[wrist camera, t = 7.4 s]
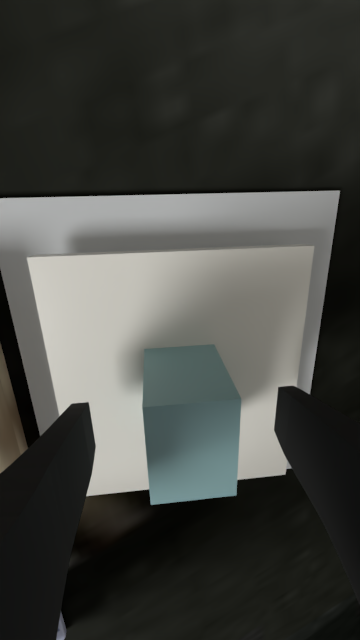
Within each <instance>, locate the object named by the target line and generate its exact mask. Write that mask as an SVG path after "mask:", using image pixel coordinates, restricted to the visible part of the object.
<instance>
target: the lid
mask: <svg viewBox="0 0 360 640" xmlns="http://www.w3.org/2000/svg"><path fill="white" fill-rule="evenodd" d="M313 253H314V246H313V245H308V244H290V245H265V246H240V247H215V248H190V249H164V250H139V251H114V252H89V253H64V254H39V255H33V256H30V257H27V261H28V266H29V270H30V275H31V280H32V285H33V290H34V295H35V300H36V304H37V309H38V314H39V319H40V324H41V329H42V334H43V338H44V343H45V348H46V353H47V358H48V363H49V368H50V373H51V377H52V382H53V387H54V392H55V397H56V402H57V407H58V411H59V416H60V415H61V414H62V413H63V412H64V411H65V410H66V409H67V408H68V407H69V406H70V405H71V404H72V403H85V402H89V407H90V413H91V419H92V426H93V432H94V438H95V445H96V449H95V456H94V463H93V470H92V475H91V479H90V483H89V487H88V491H87V495H86V496H92V495H101V494H111V493H120V492H129V491H138V490H147V489H149V491H150V502H151V505H155V504H164V503H173V502H182V501H191V500H200V499H208V498H217V497H226V496H235V495H236V494H237V480H240V479H249V478H258V477H268V476H277V475H285V474H286V466H287V459H286V457H285V455H284V453H283V451H282V448H281V446H280V444H279V441H278V439H277V436H276V434H275V431H274V424H275V414H276V405H277V395H278V387H283V386H295V387H297V380H298V372H299V364H300V356H301V348H302V340H303V332H304V324H305V316H306V309H307V301H308V293H309V285H310V277H311V269H312V261H313Z"/></svg>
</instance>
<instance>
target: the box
mask: <svg viewBox="0 0 360 640" xmlns="http://www.w3.org/2000/svg"><path fill="white" fill-rule="evenodd" d="M27 449H28V446H27V443H26V439H25V435H24V431H23V427H22V423H21V420H20V416H19V412H18V408H17V404H16V400H15V397H14V393H13V389H12V385H11V381H10V377H9V374H8V370H7V366H6V362H5V358H4V354H3V351H2V347H1V343H0V473H1V472H3V471H4V470H5V469H6V468H7V467H8V466H10V465H11V464H12V463H13V462H14V461H15V460H16V459H17V458H18V457H19V456H20V455H21V454H23V453H24V452H25V451H26V450H27Z"/></svg>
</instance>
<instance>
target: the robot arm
mask: <svg viewBox="0 0 360 640" xmlns="http://www.w3.org/2000/svg"><path fill="white" fill-rule="evenodd" d="M274 431H275V434H276V436H277V439H278V441H279V444H280V446H281V448H282V451H283V453H284V455H285V457H286V459H287V461H288V462H289V464H290V466H291V468H292V469H293V471H294V473H295V475H296V476H297V478H298V480H299V482H300V483H301V485H302V487H303V488H304V490H305V492H306V494H307V495H308V497H309V499H310V501H311V502H312V504H313V506H314V507H315V509H316V511H317V513H318V515H319V517H320V518H321V520H322V522H323V524H324V526H325V528H326V530H327V532H328V535H329V537H330V539H331V541H332V543H333V545H334V547H335V550H336V552H337V554H338V556H339V558H340V560H341V563H342V565H343V567H344V570H345V572H346V574H347V576H348V579H349V581H350V583H351V586H352V588H353V590H354V592H355V595H356V597H357V599H358V602H359V604H360V423H358V422H356V421H354V420H353V419H351V418H349V417H347V416H345V415H344V414H342V413H340V412H338V411H337V410H335V409H333V408H332V407H330V406H328V405H327V404H325V403H323V402H321V401H320V400H318V399H316V398H315V397H313V396H311V395H310V394H308V393H306V392H305V391H303V390H301V389H299V388H297V387H295V386H283V387H278V395H277V405H276V414H275V424H274ZM95 449H96V445H95V438H94V432H93V426H92V419H91V413H90V407H89V402H85V403H72V404H71V405H70V406H69V407H68V408H67V409H66V410H65V411H64V412H63V413H62V414H61V415H60V416H59V417H58V418H57V420H56V421H55V422H54V423H53V424H52V425H51V426H50V427H49V428H48V429H47V430H46V431H45V432H44V433H43V434H42V435H41V436H40V437H39V438H38V439H37V440H36V441H35V442H34V443H33V444H32V445H31V446H30V447H29V448H28V449H27V450H26V451H25V452H24V453H23V454H21V455H20V456H19V457H18V458H17V459H16V460H15V461H14V462H13V463H12V464H11V465H10V466H8V467H7V468H6V469H5V470H4V471H3V472H1V473H0V640H64V638H65V636H66V627H65V623H64V620H63V616H62V613H61V607H62V601H63V595H64V589H65V584H66V578H67V572H68V567H69V561H70V556H71V552H72V547H73V543H74V539H75V535H76V532H77V528H78V524H79V521H80V517H81V513H82V509H83V506H84V502H85V498H86V495H87V491H88V487H89V483H90V479H91V475H92V470H93V463H94V456H95Z"/></svg>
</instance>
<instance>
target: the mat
mask: <svg viewBox="0 0 360 640" xmlns="http://www.w3.org/2000/svg"><path fill="white" fill-rule="evenodd" d="M339 195H340V191H299V192H255V193H211V194H167V195H123V196H79V197H35V198H0V269H1V274H2V278H3V282H4V286H5V290H6V295H7V299H8V303H9V307H10V311H11V316H12V320H13V324H14V328H15V332H16V337H17V341H18V345H19V349H20V353H21V358H22V362H23V366H24V370H25V374H26V379H27V383H28V387H29V391H30V395H31V400H32V404H33V408H34V412H35V416H36V421H37V425H38V429H39V433H40V436H41V435H42V434H43V433H44V432H45V431H46V430H47V429H48V428H49V427H50V426H51V425H52V424H53V423H54V422H55V421H56V420H57V418H58V417H59V411H58V407H57V402H56V397H55V392H54V387H53V382H52V377H51V373H50V368H49V363H48V358H47V353H46V348H45V343H44V338H43V334H42V329H41V324H40V319H39V314H38V309H37V304H36V300H35V295H34V290H33V285H32V280H31V275H30V270H29V266H28V261H27V257H30V256H33V255H39V254H64V253H89V252H114V251H139V250H164V249H190V248H215V247H240V246H265V245H290V244H308V245H313V246H314V253H313V261H312V269H311V277H310V285H309V293H308V301H307V309H306V316H305V324H304V332H303V340H302V348H301V356H300V364H299V372H298V380H297V388H299V389H301V390H303V391H305V392H306V393H308V394H310V390H311V384H312V377H313V370H314V363H315V357H316V350H317V343H318V336H319V330H320V323H321V316H322V309H323V303H324V296H325V289H326V282H327V276H328V269H329V262H330V255H331V249H332V242H333V235H334V228H335V222H336V215H337V208H338V201H339ZM290 468H291V466H290V464H289V462H288V461H287V466H286V469H290Z"/></svg>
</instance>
